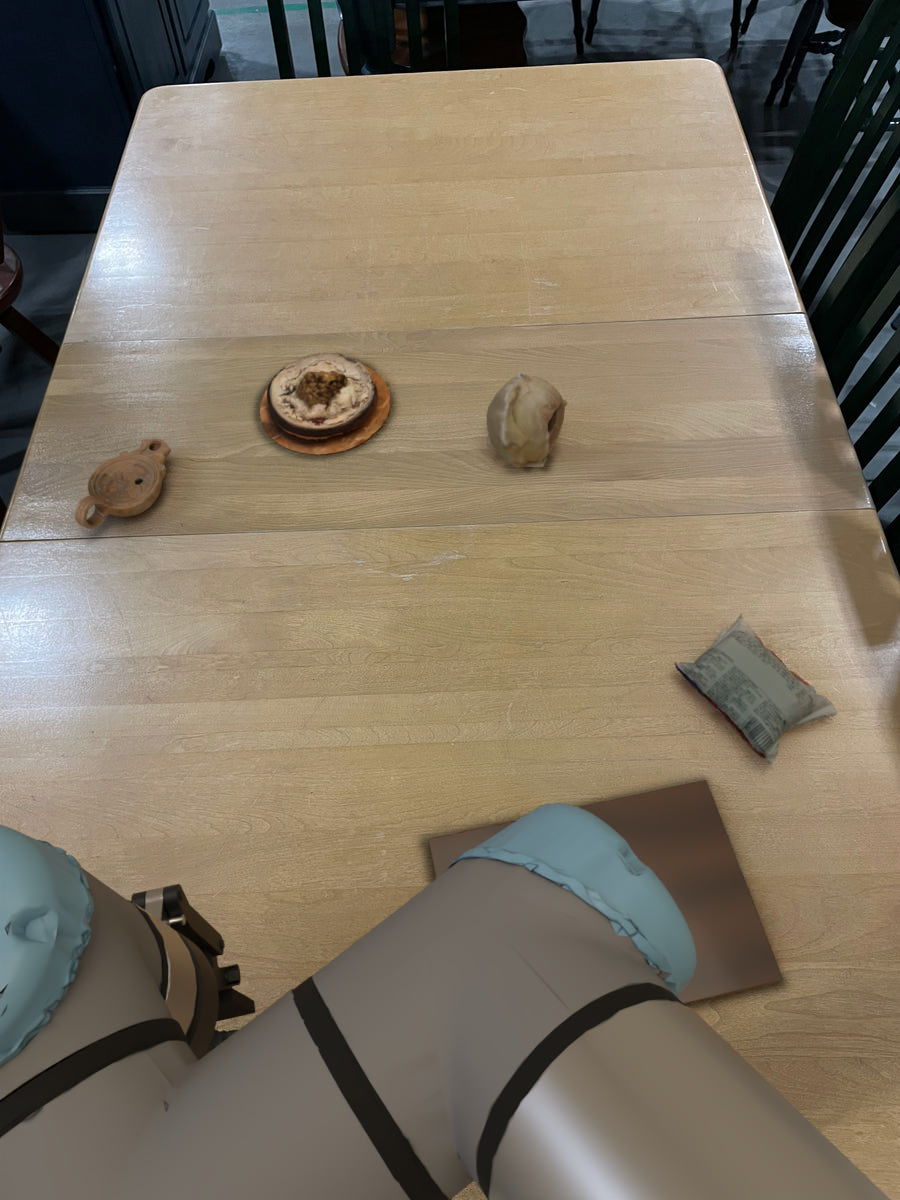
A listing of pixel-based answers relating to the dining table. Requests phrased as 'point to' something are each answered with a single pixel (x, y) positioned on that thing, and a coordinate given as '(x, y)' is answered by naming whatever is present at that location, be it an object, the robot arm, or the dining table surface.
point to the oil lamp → (125, 484)
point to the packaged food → (754, 689)
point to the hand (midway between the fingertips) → (237, 1047)
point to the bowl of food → (324, 404)
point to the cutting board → (679, 881)
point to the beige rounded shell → (525, 420)
